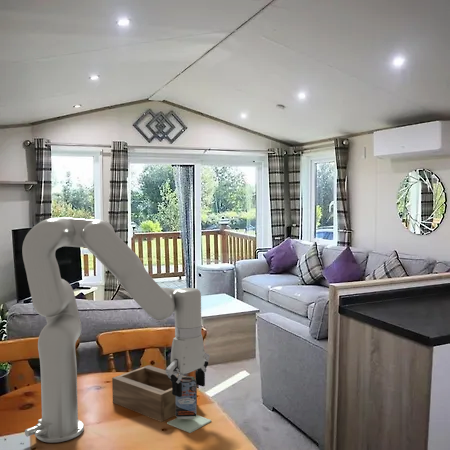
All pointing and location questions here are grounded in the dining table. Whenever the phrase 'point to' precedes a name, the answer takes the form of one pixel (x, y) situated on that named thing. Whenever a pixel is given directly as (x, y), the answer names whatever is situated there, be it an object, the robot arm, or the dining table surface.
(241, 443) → the dining table surface
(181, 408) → the beverage can
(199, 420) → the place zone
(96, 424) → the dining table surface
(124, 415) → the dining table surface
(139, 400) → the box
